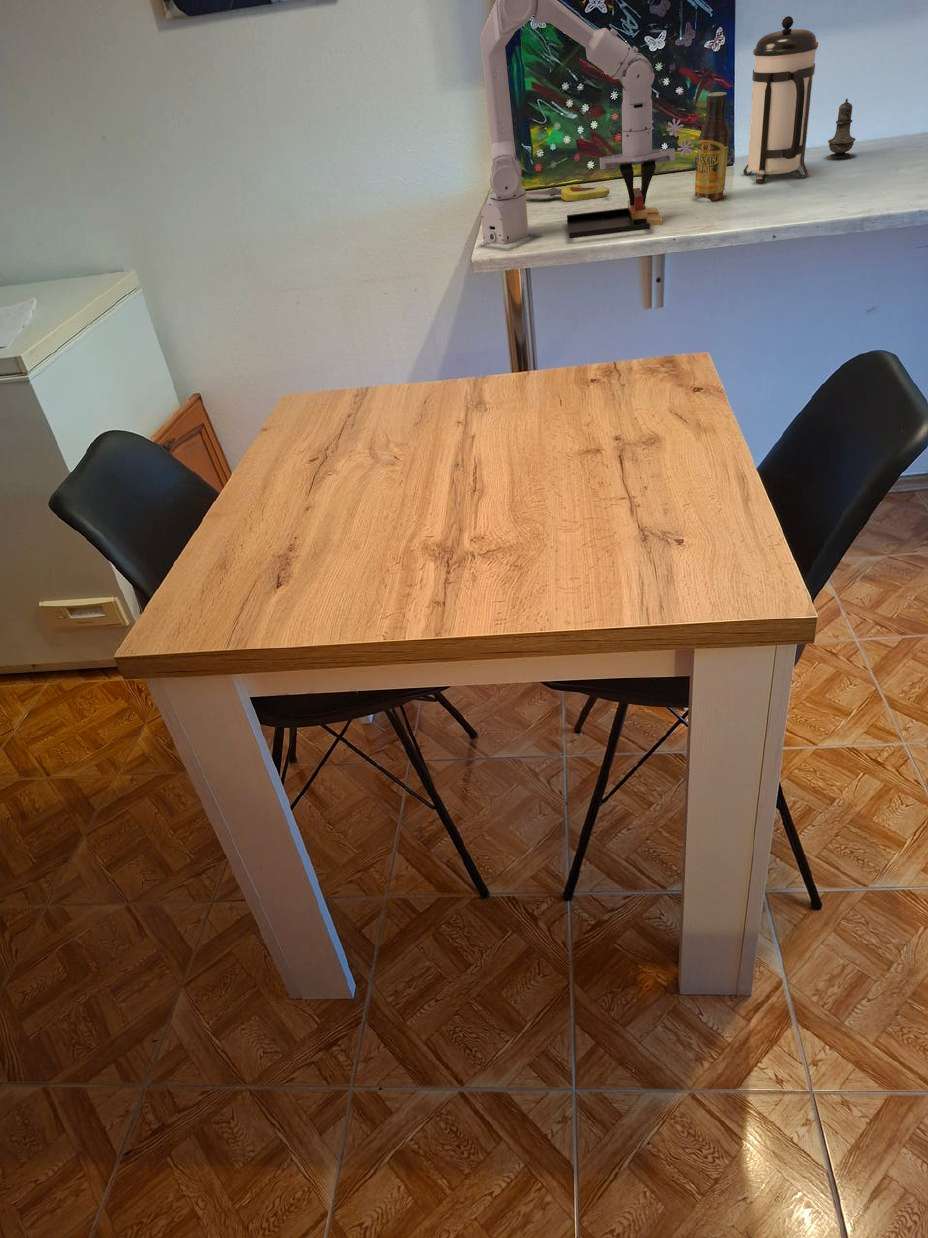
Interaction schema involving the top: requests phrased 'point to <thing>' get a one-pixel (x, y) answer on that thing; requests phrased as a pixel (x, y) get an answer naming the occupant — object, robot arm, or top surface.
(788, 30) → the coffee press
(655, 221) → the cracker piece
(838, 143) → the salt shaker
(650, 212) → the cracker piece
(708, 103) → the brown glass bottle
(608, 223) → the tray
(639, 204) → the brush
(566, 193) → the yellow scissors
